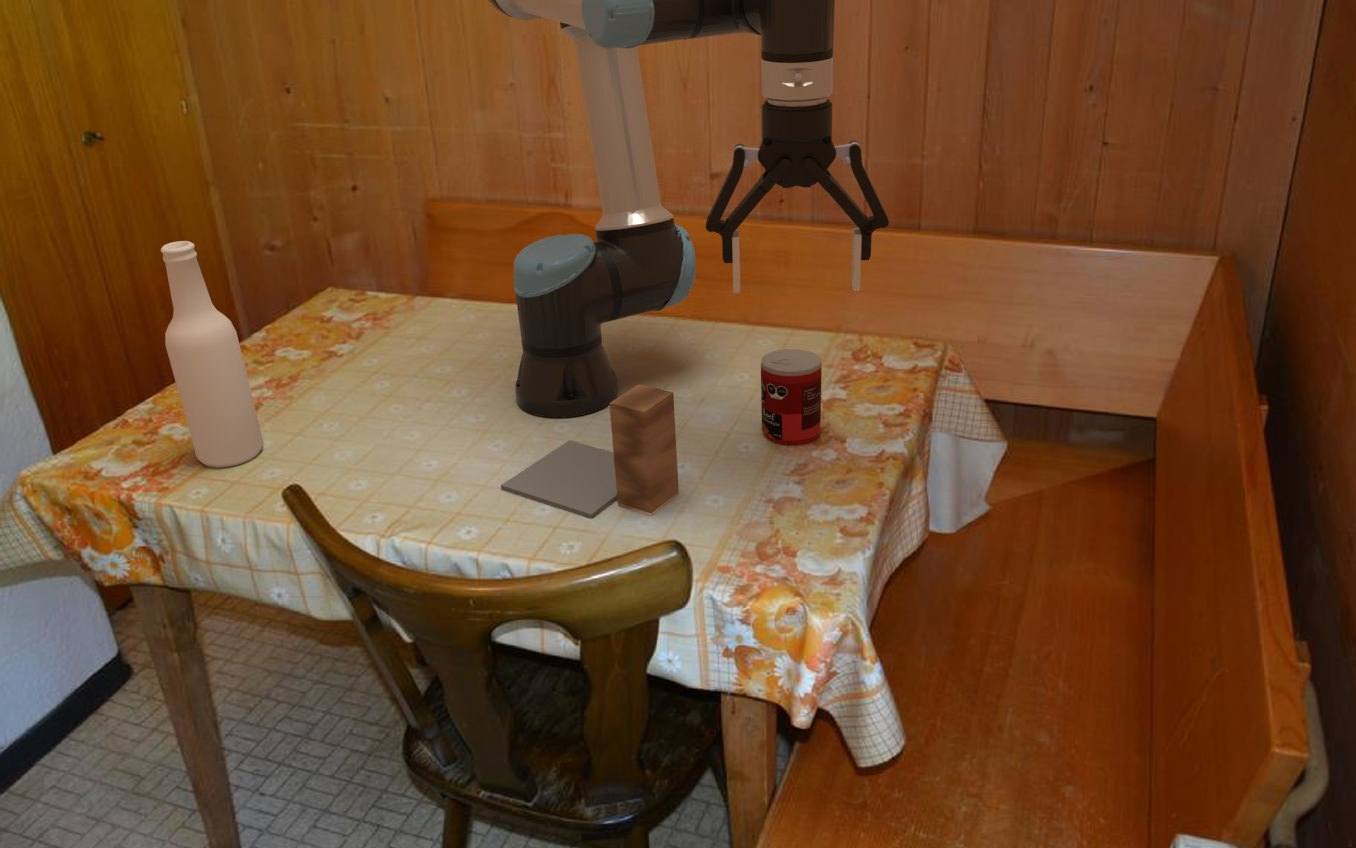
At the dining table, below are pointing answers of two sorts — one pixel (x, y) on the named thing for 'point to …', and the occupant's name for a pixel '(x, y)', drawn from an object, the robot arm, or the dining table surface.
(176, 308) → the alcohol
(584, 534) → the dining table surface
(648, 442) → the walnut block
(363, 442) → the dining table surface
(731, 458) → the dining table surface
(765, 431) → the canned food
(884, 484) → the dining table surface
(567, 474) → the mat
